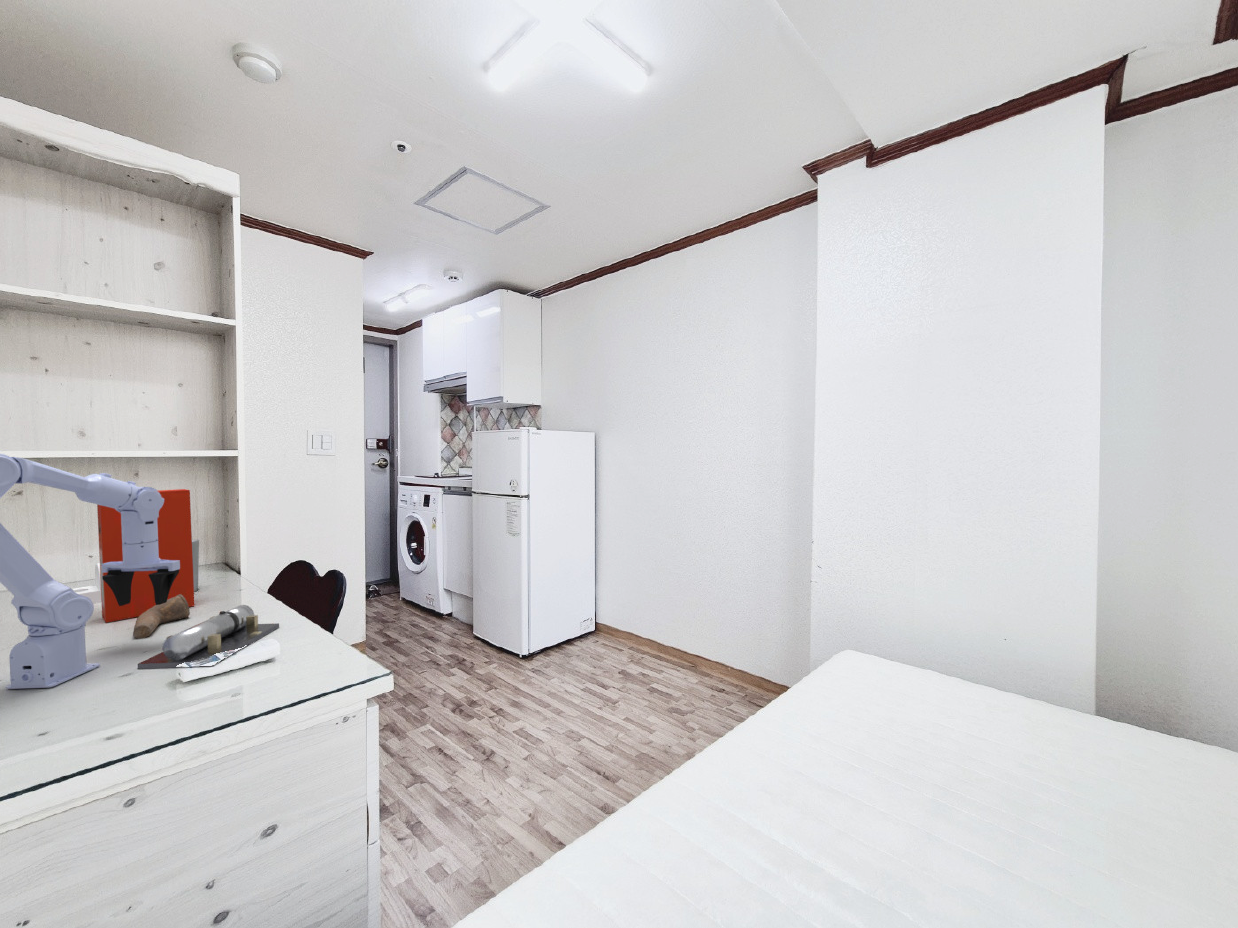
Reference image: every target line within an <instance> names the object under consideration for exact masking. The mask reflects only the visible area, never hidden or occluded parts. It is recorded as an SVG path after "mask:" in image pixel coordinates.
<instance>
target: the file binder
mask: <svg viewBox="0 0 1238 928" xmlns="http://www.w3.org/2000/svg"><path fill="white" fill-rule="evenodd" d="M157 491H158V492H159V493H160V495H161V497H162V498H164V504H163V506H162V507H161V509H160V510H159V517H158V518H157V525H158V550H159V558H160V559H162V560H180V569H179V573H178V575H177V576H176V578H175V580H174V582H173V584H172V586H171V588H170V591H169V595H168V599H170V598H173V597H176V596H177V595H179V594H181V595H183V596H184V598H185V599H186V601H187V603H188V606H189V608H190V607H194V606H195V592H194V581H193V557H192V540H193V536H192V535H193V534H192V510H191V490H190V489H185V488H182V489H181V488H179V489H178V488H177V489H161V490H159V489H158V490H157ZM96 505H97V504H96ZM96 507H97V512H96V513H97V527H98V528H97V533H98V551H99V552H98V554H99V556H98V557H99V563H100V579H101V601H102V602H101V616H102V620H103V621H104V622H105V623H106V624H107V623H112V622H118V621H122V620H123V621H124V620H128V619H132V618H133V619H134V618H138V617H139V616H140V615H141V614H142V613H144V612H145V611H147V610H148V609H150V608H152V607H153V606H155V605H156V603H155V597H154V588H153V585H152V582H151V580H150V578H149V574H152V573H155V572H157V571H135V572H134V575H133V579H132V584H131V601H130V603H129V604H126V605H123V606H119V605H118V602H117V600H116V598H115V595H114V593H113V591H112V590H111V588H110V587H109V586H108V584H107V583H106V582H105V581H104V580H103V579H102V576H104V575H107V573H108V572H107V573H102V564H104V563H108V562H119V561H123V551H122V526H121V513H120V512H118V511H117V510H116V509H114V508H110V507H106V506H102V505H97V506H96ZM168 599H167V600H168Z"/></svg>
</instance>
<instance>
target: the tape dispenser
mask: <svg viewBox="0 0 1238 928" xmlns="http://www.w3.org/2000/svg"><path fill="white" fill-rule="evenodd" d="M94 578H95V579H94V581H95V584H94V585H89V586H87V585H86V586H82V587H75V588H73V587H72V588H71V589H72V590H73V591H74V592H75V593H77V594H79V595H83V596H86V597H88V598H89V599H90V600H91V601H92V602H93V605H94V604H98V603H102V601H101V579H100V562H95V565H94Z"/></svg>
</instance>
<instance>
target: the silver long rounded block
mask: <svg viewBox="0 0 1238 928" xmlns="http://www.w3.org/2000/svg"><path fill="white" fill-rule="evenodd" d="M250 615H255V612H254V610H253V609H252V607H250V606H249V605H246V604H240V605H237V606H235V607H232V608H230V609H228V610H226V611H225V610H220V612H219V614H217V615H216V616H215V617H213V616H212V617H213V618H211V617H210V618H211V619H210V618H209V619H206V620H204V621H202V622H200V623H198V624H195V625H193V626H191V627H189V628H187V629H184V630H182V631H180V632H178V633H175V634H173V636H172V635H170V636H171V637H169V636H168V637H169V638H167V637H166V639H165V640H164V642H163V644H162V652H163V653H164V655H165V656H166V657H167V658H169V659H171V660H175V661H176V660H181V659H183V658H185V657H187V656H189V655H191V654H193V653H195V652H197V651H198V650H200V649H202V648H204V647H206V646H208V639H207V636H209V635H211V634H221V638H223V637H225V636H227V635H229V634H231V633H233V632H235V631H237V630H239V629H241V628H243V627H245V626H246V617H247V616H250Z"/></svg>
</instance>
